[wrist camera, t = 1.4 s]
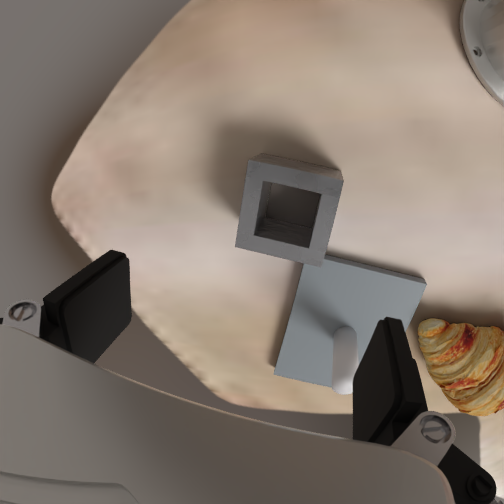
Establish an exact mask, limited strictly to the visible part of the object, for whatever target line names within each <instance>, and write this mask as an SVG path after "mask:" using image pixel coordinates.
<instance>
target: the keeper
mask: <svg viewBox="0 0 504 504" xmlns="http://www.w3.org/2000/svg"><path fill="white" fill-rule="evenodd" d="M426 285H427V284H426V282H425V280H424V279H422V278H418V277H414V276H410V275H406V274H402V273H398V272H394V271H390V270H386V269H382V268H378V267H374V266H370V265H366V264H362V263H358V262H354V261H350V260H346V259H342V258H338V257H333V256H329V255H325V257H324V260H323V264H322V268H321V267H317V266H312V265H308V264H303V268H302V272H301V276H300V280H299V284H298V288H297V292H296V295H295V299H294V303H293V307H292V310H291V314H290V318H289V321H288V325H287V328H286V332H285V336H284V339H283V343H282V346H281V350H280V353H279V357H278V360H277V363H276V367H275V370H274V375H278V376H282V377H286V378H291V379H295V380H299V381H304V382H308V383H313V384H317V385H322V386H327V387H332V389H333V390H334V391H335V392H336V393H338V394H344V395H345V394H351V393H353V385H352V384H353V378H354V375H355V372H356V370H357V368H358V366H359V364H360V362H361V360H362V357H363V355H364V353H365V351H366V349H367V346H368V344H369V342H370V340H371V337H372V335H373V333H374V330H375V328H376V326H377V323H378V321H379V320H380V319H381V320H384V318H385V317H391V318H396V319H401V320H402V323H403V326H404V330H405V332H406V330H407V328H408V326H409V324H410V321H411V319H412V317H413V315H414V313H415V311H416V308H417V306H418V304H419V302H420V299H421V297H422V295H423V292H424V290H425V288H426Z"/></svg>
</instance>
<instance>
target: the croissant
mask: <svg viewBox="0 0 504 504" xmlns="http://www.w3.org/2000/svg"><path fill="white" fill-rule="evenodd" d="M418 335H419V338H418V341H419V342H420V349H421V350H422V352H423V355H424V358H425V360H426V365H427V370H428V372H429V374H430V376H431V377H432V379H433V380H434V381H435V383H437V384H438V385H439V387H441V389H442V392H443V393H444V395H445V396H446V397H447V399H448V400H449V401H450V402H451V403H452V404H453V405H454V406H455V407H456V408H458V409H459V411H461V412H463V413H468V414H470V415H475V416H487V415H489V414H491V413H496V412H497V411H499V410H501V409H503V408H504V331H502V330H501V329H500V328H498V327H495V326H491V327H479V326H477V327H476V328H475V327H474V326H473V325H472V324H468V323H459V324H455V323H453V324H449V323H448V322H446V321H445V320H442V319H435V318H430V319H427V320H424V321H422V322H421V323H420V324H419V326H418Z"/></svg>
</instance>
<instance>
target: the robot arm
mask: <svg viewBox="0 0 504 504" xmlns="http://www.w3.org/2000/svg"><path fill="white" fill-rule="evenodd" d="M459 25H460V33H461V39H462V43H463V46H464V50H465V53H466V55H467V57H468V60H469V62H470V65H471V66H472V68H473V70H474V72H475V74H476V75H477V77H478V79H479V80H480V81H481V83H482V84H483V86H484V87H485V88H486V90H487V91H488V92H489V93H490V94H491V95H492V96H493V97H494V98H495V100H496V101H498V102H499V103H500V104H501V105H503V106H504V0H465V1H464V2H463V5H462V8H461V12H460V24H459ZM473 51H474V52H475V53H476V55H475V54H474V52H473ZM43 301H44V305H43V306H40V305H39V303H37V302H36V301H33V300H19V301H17V302H14V303H13V304H11V305H9V307H8V308H7V309H6V311H5V314H4V318H0V504H503V503H502V501H501V500H499V501H498V502H497V501H496V500H495V499H494V498H495V495H496V484H495V481H494V479H493V477H492V476H491V475H490V474H489V473H488V472H487V471H485V470H484V469H483V468H482V467H480V466H479V465H478V464H477V463H475V462H474V461H473V460H472V459H470V458H469V457H468V456H467V455H466V454H464V453H463V452H462V451H461V450H459V449H458V448H457V447H456V446H454V445H453V444H452V443H453V441H454V439H455V429H454V426H453V424H452V423H451V421H450V420H449V419H448V418H447V417H446V416H444V415H442V414H441V413H438V412H435V411H428V408H427V404H426V399H425V395H424V391H423V387H422V382H421V378H420V375H419V371H418V367H417V363H416V361H415V359H413V358H412V355H411V351H410V347H409V344H408V340H407V337H406V333H405V330H404V326H403V323H402V320H401V319H396V318H391V317H385V318H384V320H381V319H380V320H379V321H378V323H377V326H376V328H375V330H374V333H373V335H372V337H371V340H370V342H369V344H368V346H367V349H366V351H365V353H364V355H363V357H362V360H361V362H360V364H359V366H358V368H357V370H356V372H355V375H354V378H353V384H352V385H353V439H347V438H341V437H336V436H330V435H324V434H319V433H314V432H309V431H304V430H299V429H294V428H289V427H284V426H280V425H275V424H271V423H267V422H262V421H259V420H255V419H251V418H247V417H243V416H240V415H236V414H233V413H229V412H225V411H222V410H219V409H215V408H212V407H209V406H205V405H202V404H199V403H196V402H193V401H190V400H186V399H184V398H181V397H178V396H175V395H172V394H169V393H166V392H163V391H161V390H158V389H155V388H152V387H150V386H147V385H145V384H142V383H139V382H137V381H134V380H132V379H129V378H127V377H124V376H122V375H119V374H117V373H115V372H112V371H110V370H108V369H105V368H103V367H101V366H98V365H96V364H94V363H95V362H96V360H97V359H98V358H99V357H100V356H101V355H102V354H103V353H104V351H105V350H106V349H107V348H108V347H109V346H110V345H111V344H112V342H113V341H114V340H115V339H116V338H117V337H118V336H119V335H120V333H121V332H122V331H123V330H124V329H125V328H126V327H127V326H128V325H129V323H130V321H131V317H132V313H131V294H130V266H129V259H128V258H126V254H125V253H122V252H118V251H115V250H110V251H108V252H107V253H105V254H104V255H102V256H101V257H99V258H98V259H96V260H95V261H94V262H92V263H91V264H89V265H88V266H86V267H85V268H84V269H82V270H81V271H80V272H78V273H77V274H75V275H74V276H72V277H71V278H70V279H68V280H67V281H66V282H64V283H63V284H61V285H60V286H59V287H57V288H56V289H55V290H53V291H52V292H51V293H49V294H48V295H46V296H45V297H44V298H43Z"/></svg>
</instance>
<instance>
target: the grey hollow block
mask: <svg viewBox="0 0 504 504" xmlns="http://www.w3.org/2000/svg"><path fill="white" fill-rule="evenodd" d="M343 182H344V180H343V176H342V173H341V171H340V170H336V169H332V168H328V167H323V166H319V165H315V164H310V163H306V162H301V161H297V160H292V159H287V158H282V157H277V156H272V155H267V154H259V155H257V156H255V157H253V158H251V159H249V160H248V166H247V173H246V179H245V185H244V192H243V198H242V204H241V211H240V217H239V224H238V231H237V237H236V244H235V247H238V248H242V249H246V250H250V251H254V252H259V253H263V254H267V255H271V256H275V257H279V258H283V259H288V260H292V261H296V262H300V263H304V264H308V265H312V266H317V267H321V268H322V264H323V260H324V257H325V253H326V249H327V246H328V242H329V238H330V234H331V230H332V227H333V223H334V219H335V215H336V211H337V207H338V203H339V198H340V194H341V190H342V186H343ZM272 183H277V184H281V185H286V186H291V187H295V188H300V189H304V190H308V191H313V192H317V193H320V197H319V202H318V206H317V211H316V215H315V219H314V223H313V228H309V227H305V226H301V225H297V224H292V223H288V222H284V221H279V220H275V219H271V218H266V211H267V206H268V200H269V195H270V189H271V184H272Z"/></svg>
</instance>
